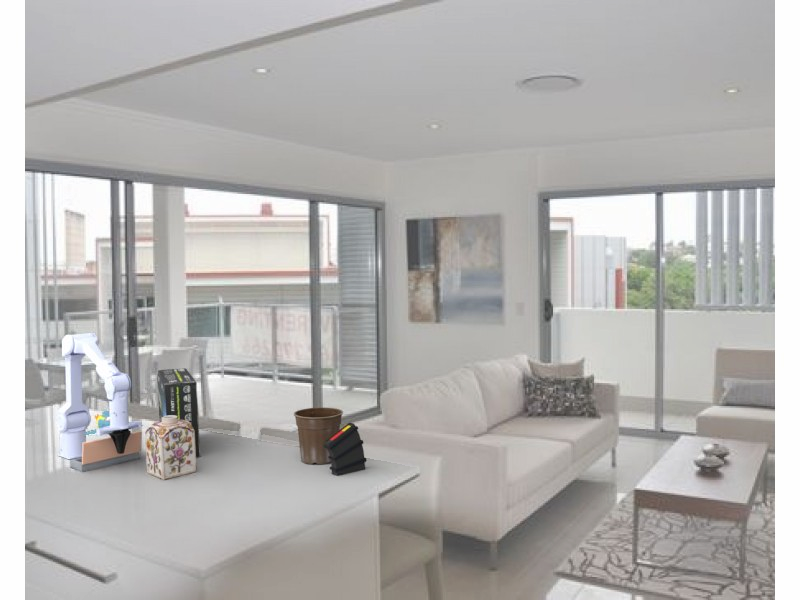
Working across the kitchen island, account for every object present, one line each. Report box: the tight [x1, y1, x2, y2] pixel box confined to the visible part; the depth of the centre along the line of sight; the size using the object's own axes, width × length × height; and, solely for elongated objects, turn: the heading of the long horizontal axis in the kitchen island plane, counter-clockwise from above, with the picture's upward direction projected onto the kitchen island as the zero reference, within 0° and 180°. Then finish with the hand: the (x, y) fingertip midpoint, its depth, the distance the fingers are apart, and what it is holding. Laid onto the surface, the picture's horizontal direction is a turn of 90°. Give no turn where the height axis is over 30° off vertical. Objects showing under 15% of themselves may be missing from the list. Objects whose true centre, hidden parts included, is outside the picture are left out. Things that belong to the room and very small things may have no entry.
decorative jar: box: [144, 415, 197, 481], centre depth 222 cm, size 12×12×18 cm
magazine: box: [324, 422, 367, 476], centre depth 218 cm, size 4×13×15 cm, turn 127°
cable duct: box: [69, 451, 141, 473], centre depth 236 cm, size 8×20×2 cm, turn 139°
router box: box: [156, 368, 201, 458], centre depth 253 cm, size 36×11×27 cm, turn 23°
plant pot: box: [293, 406, 344, 465], centre depth 233 cm, size 16×16×16 cm
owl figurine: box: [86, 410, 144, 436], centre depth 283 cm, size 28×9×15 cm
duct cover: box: [81, 430, 143, 465], centre depth 232 cm, size 7×20×1 cm
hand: (120, 453), depth 229 cm, fingers closed
